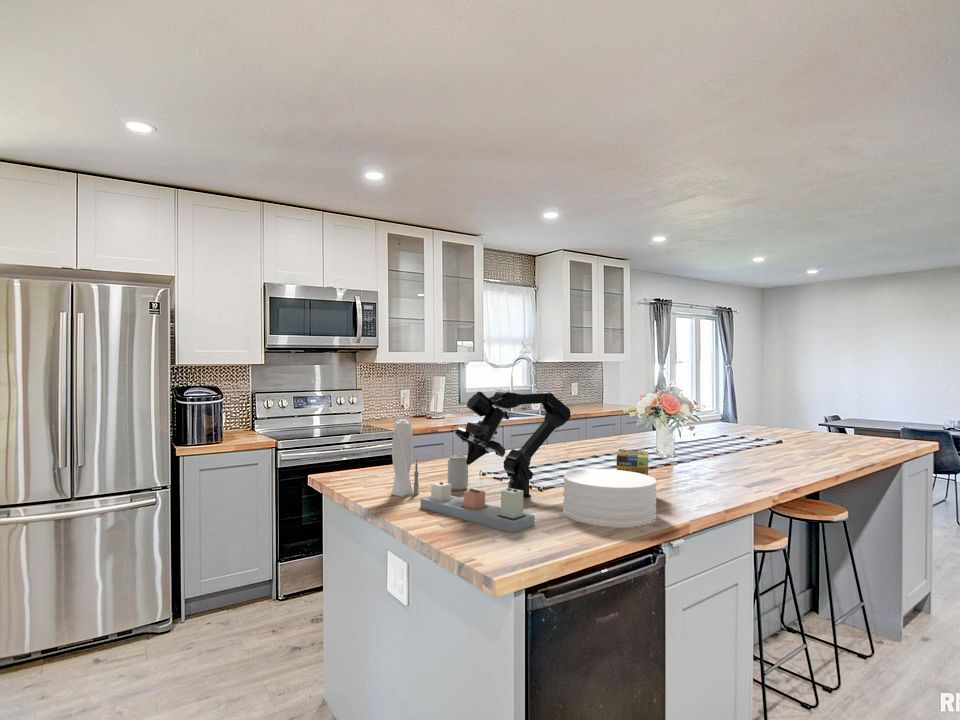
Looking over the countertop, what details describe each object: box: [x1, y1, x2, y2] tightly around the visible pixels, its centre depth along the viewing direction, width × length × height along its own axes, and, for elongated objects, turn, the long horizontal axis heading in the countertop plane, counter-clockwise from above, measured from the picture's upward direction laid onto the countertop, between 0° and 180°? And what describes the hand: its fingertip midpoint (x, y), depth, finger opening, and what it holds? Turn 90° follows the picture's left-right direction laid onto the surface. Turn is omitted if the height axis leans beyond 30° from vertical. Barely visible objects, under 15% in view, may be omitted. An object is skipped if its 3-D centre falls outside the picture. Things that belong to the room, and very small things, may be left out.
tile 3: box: [463, 488, 486, 511], centre depth 164 cm, size 4×4×8 cm
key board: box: [419, 495, 535, 534], centre depth 164 cm, size 38×10×3 cm, turn 48°
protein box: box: [615, 448, 649, 476], centre depth 191 cm, size 10×15×16 cm
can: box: [447, 454, 469, 491], centre depth 200 cm, size 8×8×12 cm
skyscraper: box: [391, 415, 420, 499], centre depth 190 cm, size 8×8×28 cm
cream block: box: [430, 481, 452, 502], centre depth 174 cm, size 4×4×8 cm
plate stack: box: [562, 468, 658, 528], centre depth 169 cm, size 28×28×12 cm
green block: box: [500, 487, 524, 518], centre depth 155 cm, size 4×4×8 cm
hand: (467, 464), depth 180 cm, fingers closed
